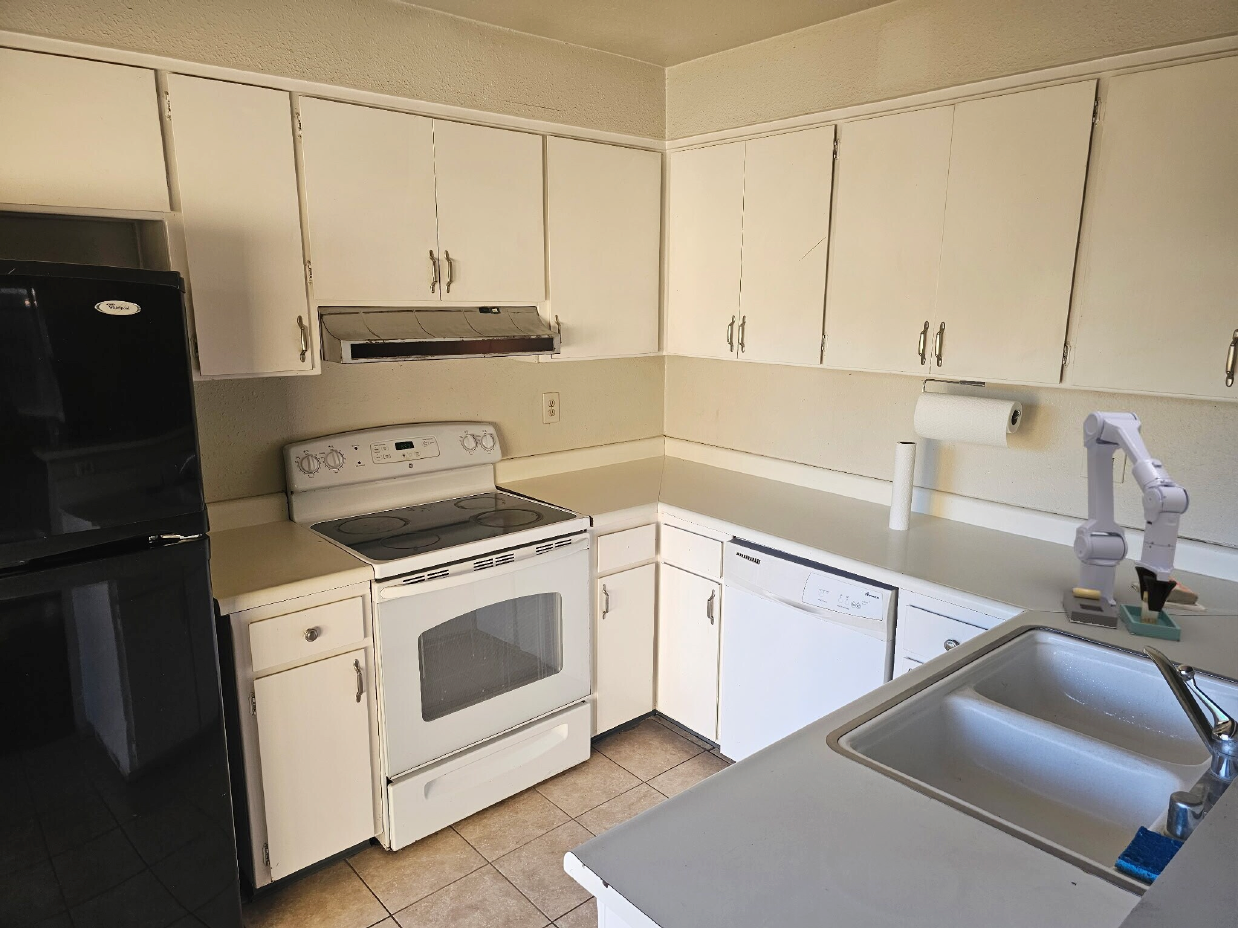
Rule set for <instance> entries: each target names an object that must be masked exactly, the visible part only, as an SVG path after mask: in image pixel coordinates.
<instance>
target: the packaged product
mask: <svg viewBox="0 0 1238 928" xmlns="http://www.w3.org/2000/svg"><path fill="white" fill-rule="evenodd" d="M1169 580H1171V581H1176V583H1177V584H1176V586H1175V587H1174V588H1173V589H1172V591H1171V592H1170V593H1169V595H1168V597H1167V599H1166V601H1165V604H1164V606H1163V609H1165V608H1166V609H1172V610H1173V609H1175V610H1183V611H1191V610H1192V611H1193V612H1200V613H1201V612H1202V613H1207V607H1204V606H1203V605H1202V604H1199V603H1198V600H1199V595H1197V594H1196V593H1195V592H1194V591H1193V590H1191V589H1190V588H1188V587H1187V586H1185V585H1184V584H1183V583H1181V582H1180V581H1178V580H1177V579H1176V578H1173V576H1171V575H1170V577H1169ZM1132 585H1133V586H1134V587H1136V589H1137V590H1138V591H1139V592H1140V584H1139V582H1136V581H1132V582H1131V586H1132ZM1136 589H1135V590H1136ZM1137 590H1136V591H1137ZM1138 591H1137V592H1138ZM1139 592H1138V593H1139ZM1192 611H1191V612H1192Z"/></svg>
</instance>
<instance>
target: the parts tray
mask: <svg viewBox="0 0 1238 928" xmlns="http://www.w3.org/2000/svg"><path fill="white" fill-rule="evenodd" d="M1141 611H1142V606H1141V605H1140V606H1138V605H1132V604H1124V603H1120V604H1119V611H1118V615H1120V616H1121V617H1120V616H1119V617H1120V619H1121V618H1122V619H1123V621H1124V622H1123V621H1122V622H1123V624H1124V623H1125V624H1126V626H1127V627H1128V629H1129V631H1130V632H1129V631H1128V632H1129V633H1134V634H1136V635H1135V636H1143V637H1148V638H1155V639H1160V640H1161V639H1163V640H1169V641H1176V642H1180V640H1181V633H1182V628H1181V627H1180V626H1179V625H1178V624H1177V622H1176V621H1175V620H1174V619H1173V617H1172V616H1171V615H1170V614H1169V612H1168V611H1167V610H1166V609H1162V611H1161V612H1159V613H1158V620H1157V625H1152V624H1145V623H1140V618H1141ZM1122 619H1121V620H1122ZM1125 624H1124V625H1125ZM1126 626H1125V627H1126ZM1127 627H1126V628H1127ZM1128 629H1127V630H1128ZM1134 634H1133V635H1134Z"/></svg>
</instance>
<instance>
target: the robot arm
mask: <svg viewBox="0 0 1238 928" xmlns="http://www.w3.org/2000/svg"><path fill="white" fill-rule="evenodd" d="M1082 430H1083V432H1082V433H1083V437H1082V438H1083V440H1082V441H1083V447H1084V448H1086V464H1087V466H1086V468H1087V470H1086V472H1087V475H1086V476H1087V516H1088V517H1087V520H1086V521H1085V522H1084V523H1082V524H1081V525H1079V526H1078V527H1077V528H1076V531H1075V539H1074V542H1073V552H1074V554H1075V556H1076V557H1077V559H1078V560H1079V561H1080V566H1079V571H1078V578H1077V584H1076V585H1077V586H1076V588H1082V589H1089V590H1097V591H1100V597H1106V598H1107V600H1108V602H1109V604H1110V605H1111V606H1117V602H1116V601H1115V600H1114V599H1115V598H1113V594H1114V586H1115V579H1116V578H1115V577H1116V572H1117V566H1120V565H1121V562H1122V561H1124V560H1125V559H1126V557H1127V555H1128V552H1129V545H1128V542H1127V539H1126V536H1125V535H1126V533H1125V529H1124V528H1123V527H1122V526H1121V525H1120V524H1118V523H1117V522H1116V521H1115V508H1114V507H1115V506H1114V505H1115V504H1114V501H1115V500H1114V498H1115V497H1114V467H1113V466H1114V464H1113V463H1114V459H1113V456H1114V454H1115V453H1116V451H1117V450H1120V449H1122V451H1123V452H1124V454H1125V455H1126V456H1127V459H1129V460H1130V462H1131V463H1132V465H1133V467H1132V469H1131V474H1132V476H1133V477H1134V479H1135V482H1136V483H1137V485H1138V487H1139V488H1140V490H1141V491H1142V493H1143V496H1142V497H1141V503H1142V507H1143V512H1144V513H1143V518H1144V520H1145V528H1144V534H1143V542H1142V548H1141V557H1140V560H1137V559H1136V560H1135V559H1134V560H1133V564H1134V569H1135V572H1136V573H1137V577H1138V583H1139V584H1140V593H1139V595H1140V599H1141V601H1142V602H1143V597H1144V591H1147V595H1148V609H1149V611H1155V612H1161V611H1162V610H1164V608H1163V606H1164V604H1165V601H1166V599H1167V597H1168V595H1169V593H1170V592H1171V591H1172V589H1173V588H1174V587H1175V586H1176V584H1177V583H1176V581H1171V580H1169V577H1170V576H1171V573H1172V572H1173V571H1174V570H1175V566H1174V561H1175V555H1176V548H1177V541H1178V535H1179V534H1178V533H1179V527H1180V519H1181V515H1183V514H1185V513H1186V512H1187V511H1188V509H1189V507H1190V500H1191V498H1190V495H1189V493H1188V490H1187V488H1185V487H1184V486H1181V485H1178V483H1175V482H1173V480H1172V478H1171V477H1170V475H1169V474H1168V472H1167V469H1165V466H1163V464H1162V462H1161V460H1159V459H1157V458H1152V457H1151V455H1150V452H1149V451H1148V448H1147V446H1146V444H1145V441H1144V440H1143V438H1142V435H1141V432H1142V431H1141V430H1142V422H1141V421H1140V419H1139V417H1138V415H1137V414H1136V413H1134V412H1112V411H1111V412H1110V411H1109V412H1108V411H1098V410H1094V411H1090V412H1089V413H1088V415H1087V417H1086V418H1085V419H1084V421H1083V425H1082ZM1098 533H1099V534H1098ZM1103 533H1104V534H1103ZM1074 588H1075V587H1073V588H1071V590H1072V593H1074Z"/></svg>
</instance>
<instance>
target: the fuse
mask: <svg viewBox="0 0 1238 928" xmlns="http://www.w3.org/2000/svg"><path fill="white" fill-rule="evenodd" d="M1141 605H1142V606H1141V607H1142V611H1141V618H1140V623H1145V624H1152V625H1157V620H1158V613H1159V612H1155V611H1149V609H1148V595H1147V591H1144V597H1143V601H1142V604H1141Z"/></svg>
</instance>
